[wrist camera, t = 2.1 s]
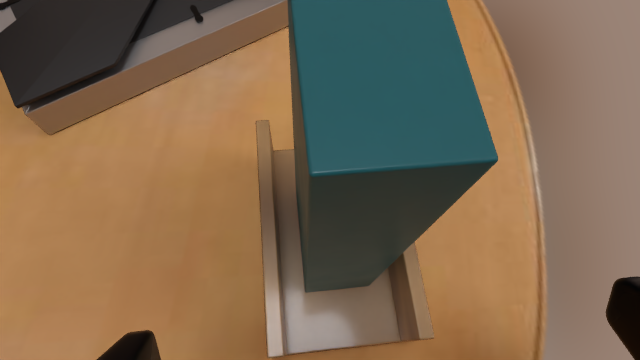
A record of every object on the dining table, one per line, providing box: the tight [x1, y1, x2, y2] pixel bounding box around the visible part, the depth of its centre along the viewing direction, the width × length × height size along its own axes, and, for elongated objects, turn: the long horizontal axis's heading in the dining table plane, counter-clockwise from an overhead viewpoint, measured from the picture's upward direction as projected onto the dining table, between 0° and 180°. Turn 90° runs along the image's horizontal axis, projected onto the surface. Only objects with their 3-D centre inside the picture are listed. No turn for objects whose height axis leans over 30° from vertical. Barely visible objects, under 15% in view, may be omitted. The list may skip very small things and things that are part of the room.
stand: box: [256, 120, 434, 358], centre depth 18 cm, size 10×7×4 cm, turn 6°
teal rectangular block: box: [287, 0, 498, 293], centre depth 13 cm, size 5×3×13 cm, turn 6°
